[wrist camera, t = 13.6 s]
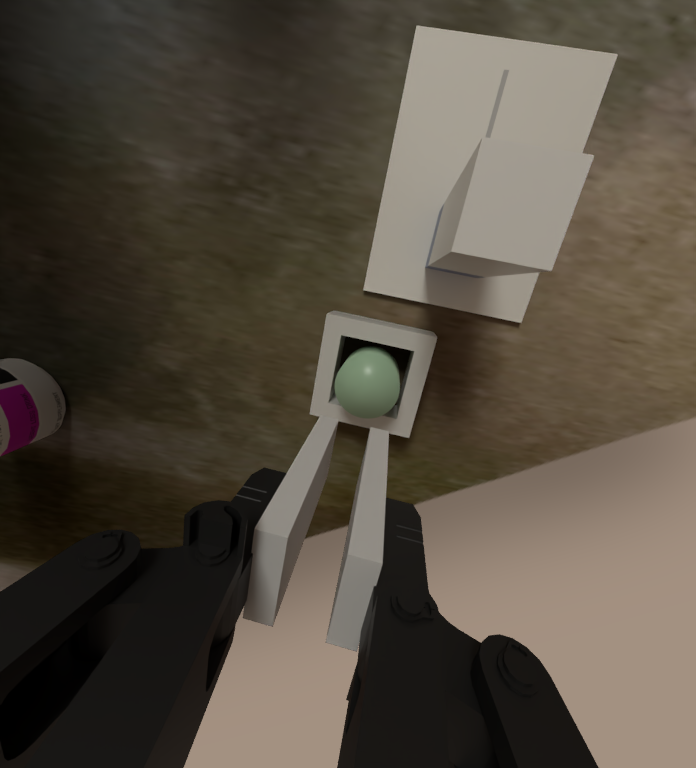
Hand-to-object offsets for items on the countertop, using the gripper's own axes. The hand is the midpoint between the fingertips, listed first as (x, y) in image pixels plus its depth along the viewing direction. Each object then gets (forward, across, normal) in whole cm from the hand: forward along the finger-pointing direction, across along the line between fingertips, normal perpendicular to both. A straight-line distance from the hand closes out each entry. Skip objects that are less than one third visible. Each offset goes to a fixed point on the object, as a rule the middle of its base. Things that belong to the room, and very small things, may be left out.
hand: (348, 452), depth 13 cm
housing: (+14, 0, 0) cm, 14 cm away
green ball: (+13, 0, 0) cm, 13 cm away
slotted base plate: (+14, +4, +14) cm, 21 cm away
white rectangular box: (+14, +4, +10) cm, 18 cm away
